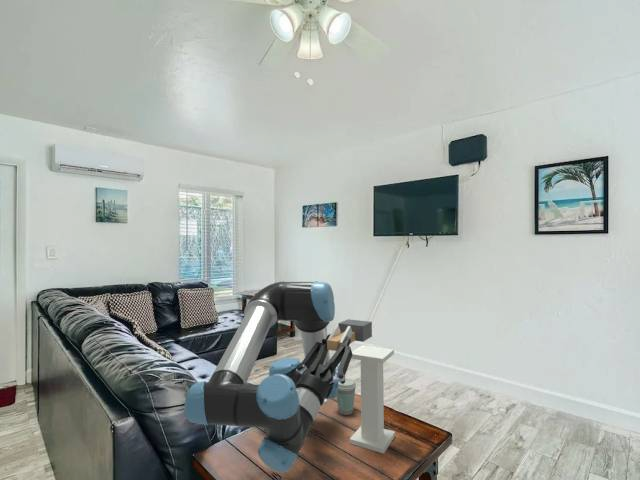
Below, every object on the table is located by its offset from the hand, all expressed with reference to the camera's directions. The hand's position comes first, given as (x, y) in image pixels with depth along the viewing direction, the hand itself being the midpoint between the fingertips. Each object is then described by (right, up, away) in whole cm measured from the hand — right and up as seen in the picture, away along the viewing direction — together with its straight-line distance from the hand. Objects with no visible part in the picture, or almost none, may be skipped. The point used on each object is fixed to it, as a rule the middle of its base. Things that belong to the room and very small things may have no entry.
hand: (344, 329), depth 96 cm
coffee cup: (+3, -44, +41) cm, 61 cm away
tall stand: (+11, -43, +20) cm, 49 cm away
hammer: (+1, -4, +1) cm, 4 cm away
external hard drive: (-8, -46, +55) cm, 72 cm away
